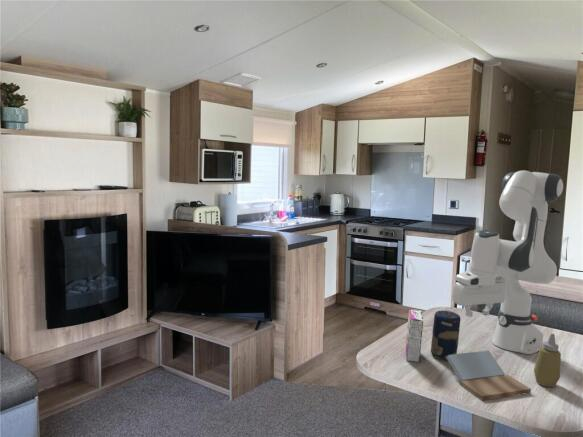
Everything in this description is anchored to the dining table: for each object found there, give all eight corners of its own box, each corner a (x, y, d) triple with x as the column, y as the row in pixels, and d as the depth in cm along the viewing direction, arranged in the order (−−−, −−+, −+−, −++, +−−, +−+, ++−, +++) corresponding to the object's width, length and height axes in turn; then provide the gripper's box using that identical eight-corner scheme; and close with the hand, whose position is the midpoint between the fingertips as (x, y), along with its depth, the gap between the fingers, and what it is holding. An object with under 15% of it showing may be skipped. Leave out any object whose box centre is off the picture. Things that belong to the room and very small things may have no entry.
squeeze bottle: (527, 377, 167) (534, 329, 165) (549, 378, 168) (556, 329, 165) (541, 389, 159) (548, 338, 157) (563, 389, 160) (571, 339, 158)
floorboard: (507, 378, 166) (507, 374, 165) (530, 393, 156) (530, 388, 156) (460, 385, 159) (461, 381, 158) (481, 400, 149) (482, 396, 149)
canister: (456, 353, 184) (461, 309, 182) (456, 363, 175) (461, 317, 173) (430, 349, 187) (435, 305, 185) (429, 358, 178) (434, 312, 176)
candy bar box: (404, 349, 186) (408, 308, 183) (417, 350, 185) (422, 310, 183) (405, 361, 175) (410, 318, 173) (419, 363, 174) (424, 320, 172)
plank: (486, 353, 173) (488, 350, 172) (503, 376, 166) (505, 374, 165) (446, 357, 167) (448, 355, 166) (461, 382, 160) (463, 379, 159)
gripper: (498, 273, 170) (494, 310, 172) (452, 275, 163) (447, 314, 165) (512, 278, 164) (507, 316, 166) (464, 280, 157) (459, 320, 159)
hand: (477, 315), depth 166 cm, fingers open, 6 cm apart
